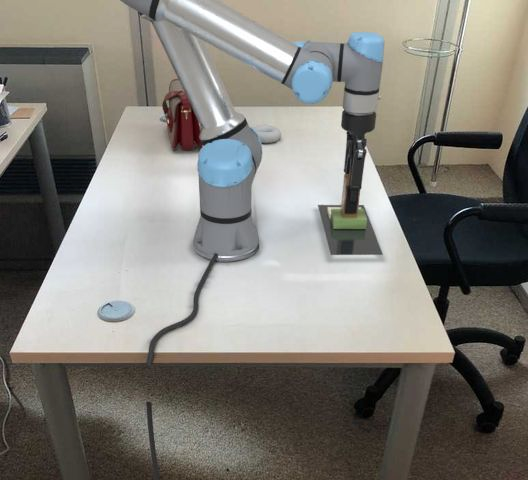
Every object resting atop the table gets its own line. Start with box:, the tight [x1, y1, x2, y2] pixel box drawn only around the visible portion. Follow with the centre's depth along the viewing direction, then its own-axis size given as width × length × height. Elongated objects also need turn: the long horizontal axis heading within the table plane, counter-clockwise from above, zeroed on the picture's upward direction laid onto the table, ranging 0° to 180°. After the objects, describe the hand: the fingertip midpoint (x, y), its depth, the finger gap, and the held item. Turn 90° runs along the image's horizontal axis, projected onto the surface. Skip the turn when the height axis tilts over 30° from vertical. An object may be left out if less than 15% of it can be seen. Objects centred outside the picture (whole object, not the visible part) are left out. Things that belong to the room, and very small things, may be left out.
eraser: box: [327, 207, 341, 218], centre depth 163 cm, size 4×4×1 cm
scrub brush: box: [330, 173, 367, 229], centre depth 155 cm, size 6×8×12 cm
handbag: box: [161, 78, 203, 151], centre depth 202 cm, size 28×11×17 cm, turn 11°
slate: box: [317, 204, 384, 256], centre depth 158 cm, size 26×12×2 cm, turn 3°
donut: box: [252, 124, 282, 144], centre depth 208 cm, size 10×4×10 cm
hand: (349, 208), depth 157 cm, fingers closed on scrub brush, 4 cm apart
